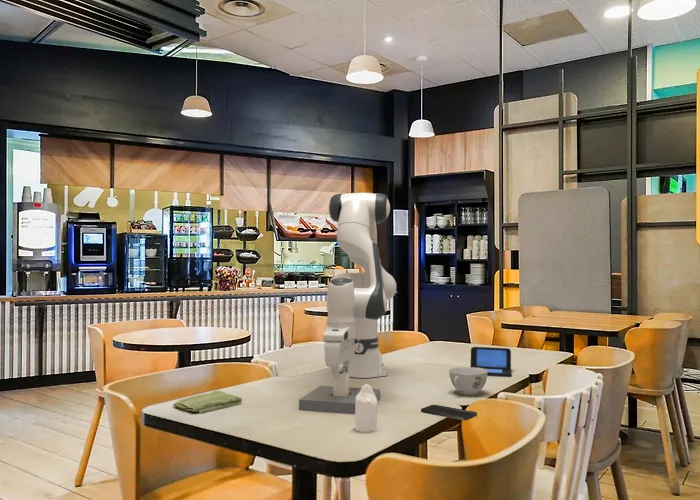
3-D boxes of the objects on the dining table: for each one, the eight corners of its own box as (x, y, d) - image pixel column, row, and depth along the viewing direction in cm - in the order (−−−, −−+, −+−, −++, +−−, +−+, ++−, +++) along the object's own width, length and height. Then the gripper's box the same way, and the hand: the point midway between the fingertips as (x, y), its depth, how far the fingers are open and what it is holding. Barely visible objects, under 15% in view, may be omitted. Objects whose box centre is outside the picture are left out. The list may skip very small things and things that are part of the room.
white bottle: (368, 380, 163) (382, 384, 158) (368, 425, 163) (381, 429, 158) (350, 383, 159) (363, 386, 155) (350, 428, 159) (363, 433, 154)
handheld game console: (469, 376, 231) (469, 351, 231) (470, 369, 244) (470, 346, 244) (511, 377, 227) (511, 353, 227) (510, 371, 240) (510, 347, 240)
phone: (433, 404, 182) (478, 412, 173) (433, 408, 182) (478, 416, 173) (419, 409, 176) (465, 417, 167) (419, 413, 176) (465, 422, 167)
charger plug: (336, 400, 188) (336, 369, 188) (349, 401, 187) (349, 370, 187) (332, 403, 184) (333, 372, 184) (345, 404, 183) (345, 372, 183)
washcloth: (170, 409, 181) (170, 398, 181) (219, 398, 194) (219, 388, 194) (195, 416, 172) (195, 405, 172) (245, 405, 185) (245, 395, 185)
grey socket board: (320, 394, 198) (320, 385, 198) (380, 398, 192) (380, 389, 192) (299, 409, 178) (299, 399, 178) (364, 414, 173) (364, 404, 173)
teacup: (462, 387, 209) (462, 364, 209) (494, 393, 200) (494, 369, 200) (437, 395, 197) (437, 370, 197) (471, 401, 189) (471, 375, 189)
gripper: (340, 326, 197) (340, 369, 197) (320, 335, 177) (320, 382, 177) (359, 327, 195) (359, 370, 195) (341, 336, 175) (341, 384, 175)
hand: (340, 376), depth 186 cm, fingers open, 8 cm apart
